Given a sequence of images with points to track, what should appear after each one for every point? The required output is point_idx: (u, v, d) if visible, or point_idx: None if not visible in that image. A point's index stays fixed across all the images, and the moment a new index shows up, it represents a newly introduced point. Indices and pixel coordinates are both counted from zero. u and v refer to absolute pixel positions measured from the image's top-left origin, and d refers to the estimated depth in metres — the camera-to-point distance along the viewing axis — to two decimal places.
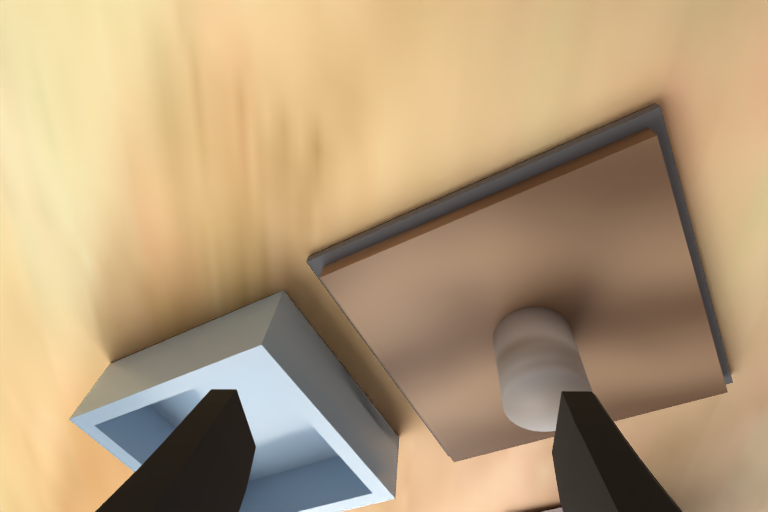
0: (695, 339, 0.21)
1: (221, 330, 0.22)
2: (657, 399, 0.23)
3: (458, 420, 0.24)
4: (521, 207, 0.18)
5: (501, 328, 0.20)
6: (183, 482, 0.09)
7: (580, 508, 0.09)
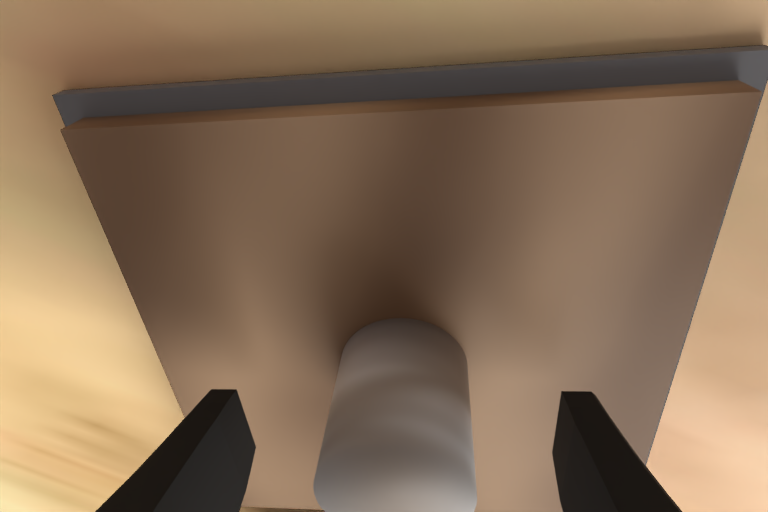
0: (537, 137, 0.09)
1: None
2: (681, 233, 0.10)
3: (534, 488, 0.15)
4: (160, 314, 0.13)
5: None
6: (183, 482, 0.09)
7: (580, 508, 0.09)
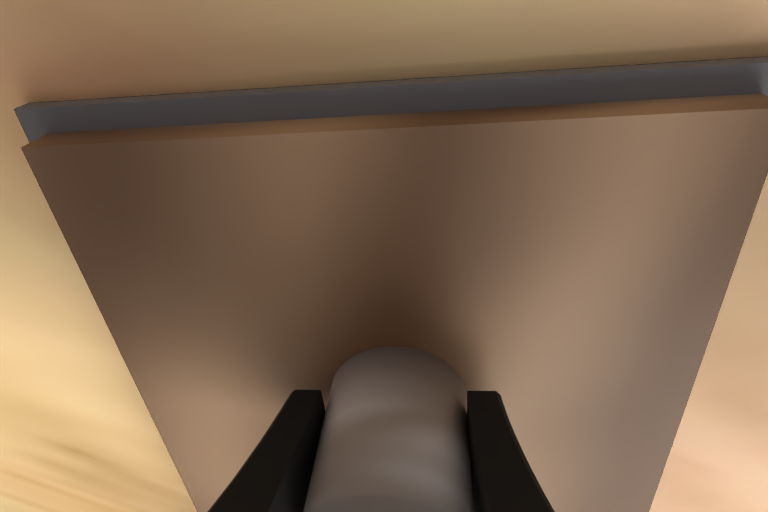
0: (542, 156, 0.09)
1: None
2: (697, 259, 0.09)
3: None
4: (137, 342, 0.12)
5: None
6: (286, 485, 0.09)
7: (476, 505, 0.10)
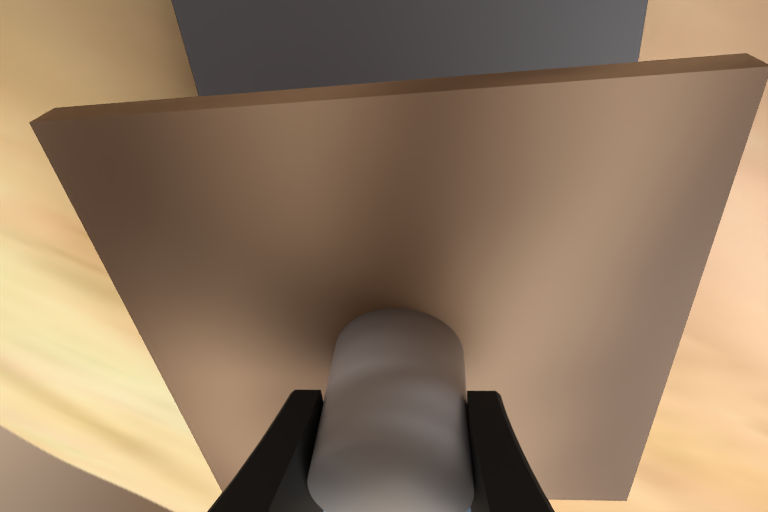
0: (532, 119, 0.09)
1: None
2: (683, 217, 0.10)
3: (533, 471, 0.15)
4: (148, 309, 0.12)
5: None
6: (286, 485, 0.09)
7: (476, 505, 0.10)
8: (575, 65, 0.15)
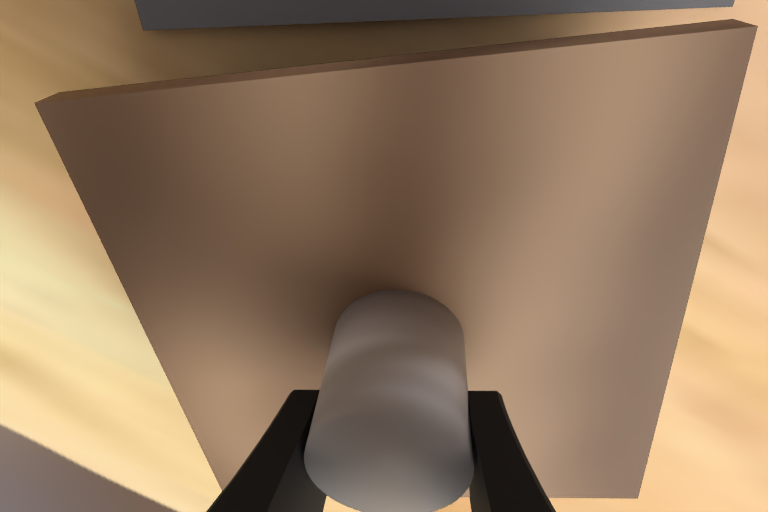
0: (523, 87, 0.09)
1: None
2: (679, 186, 0.10)
3: (539, 466, 0.15)
4: (148, 295, 0.12)
5: None
6: (285, 485, 0.09)
7: (477, 505, 0.10)
8: None
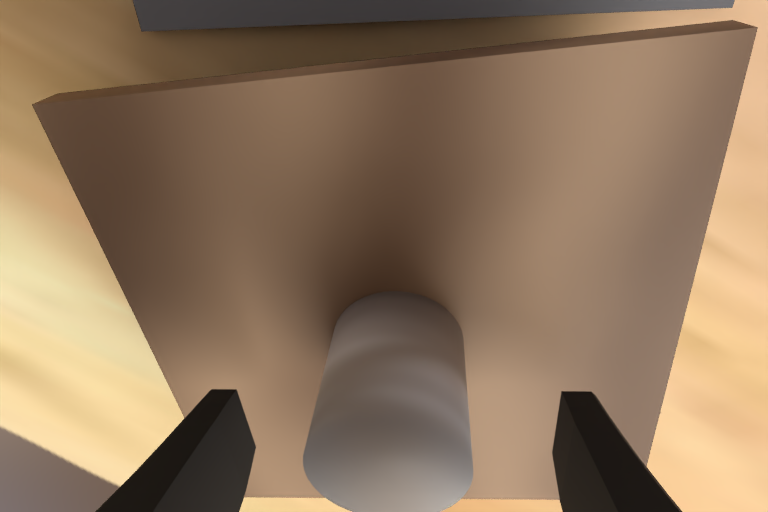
0: (522, 89, 0.09)
1: None
2: (679, 187, 0.10)
3: (539, 468, 0.15)
4: (146, 297, 0.12)
5: None
6: (183, 482, 0.09)
7: (580, 508, 0.09)
8: None
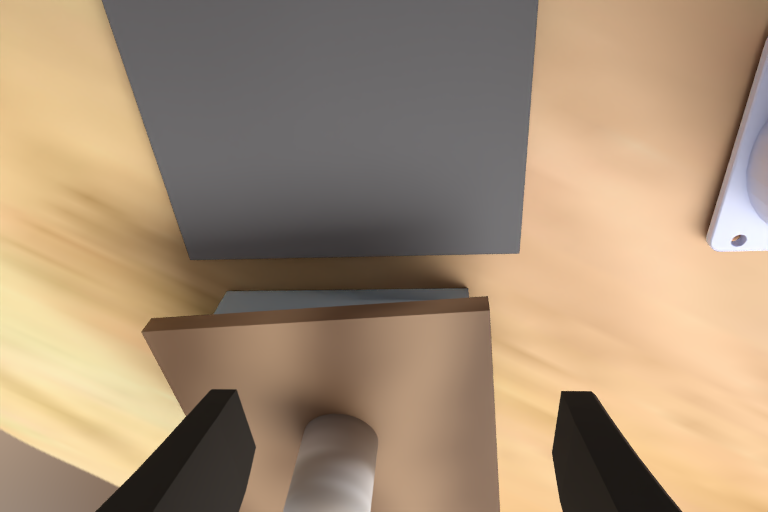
0: (386, 330, 0.18)
1: None
2: (474, 370, 0.19)
3: (436, 506, 0.24)
4: None
5: None
6: (183, 482, 0.09)
7: (580, 508, 0.09)
8: (476, 80, 0.17)
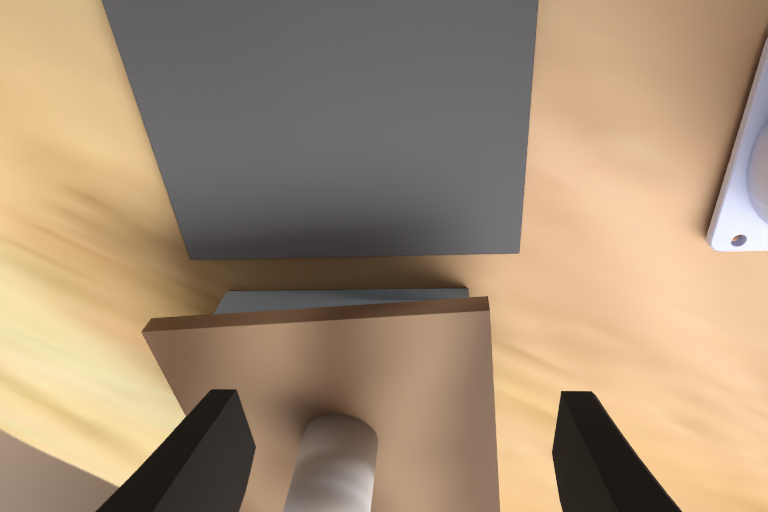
0: (386, 330, 0.18)
1: None
2: (474, 370, 0.19)
3: (436, 506, 0.24)
4: None
5: None
6: (183, 482, 0.09)
7: (580, 508, 0.09)
8: (476, 80, 0.17)
